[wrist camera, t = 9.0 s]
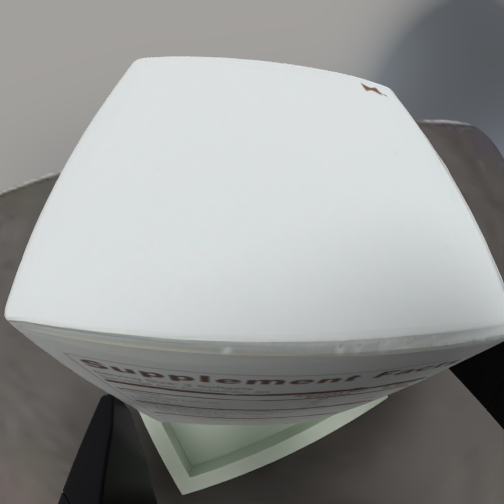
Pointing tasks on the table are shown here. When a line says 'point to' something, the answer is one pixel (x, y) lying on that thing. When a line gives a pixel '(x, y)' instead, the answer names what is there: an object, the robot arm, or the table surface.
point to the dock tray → (234, 446)
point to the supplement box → (255, 247)
